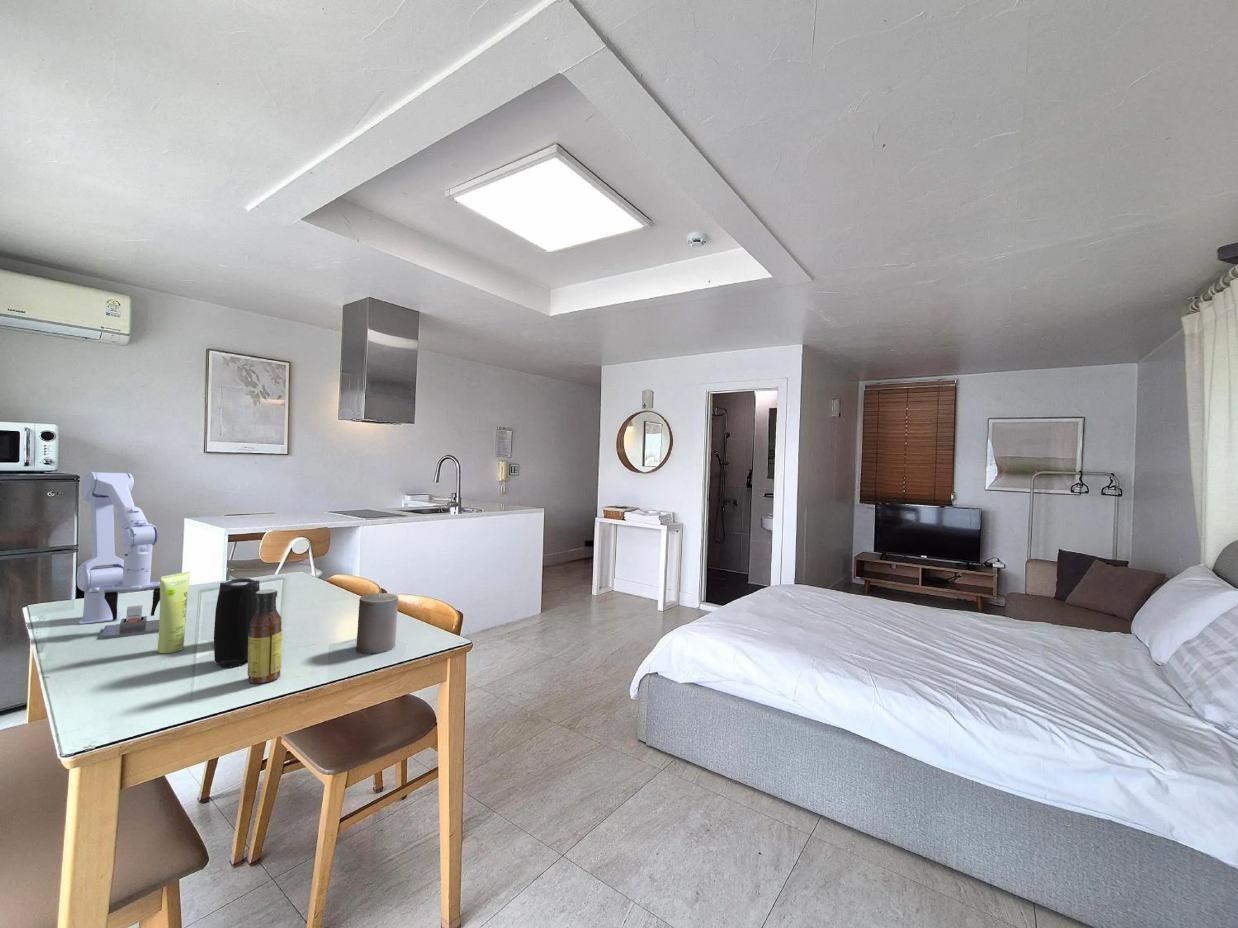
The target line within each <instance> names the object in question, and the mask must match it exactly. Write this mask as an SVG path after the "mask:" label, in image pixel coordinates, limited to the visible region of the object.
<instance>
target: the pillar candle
mask: <svg viewBox="0 0 1238 928" xmlns="http://www.w3.org/2000/svg"><path fill="white" fill-rule="evenodd" d="M358 601H359V603H358V615H357V617H358V619H357V633H356V635H357V636H356V647H355V649H356V652H358V653H360V654H364V653H370V654H371V653H376V654H381V653H380V652H383V653H385V652H384V651H386V652H389V651H388V650H390V651H391V649H392V648H393V649H394V648H395V646H396V639H397V637H396V636H397V627H398V626H397V623H398V611H399V610H398V606H399V605H398V604H399V595H398V594H395V593H386V592H383V593H382V592H379V591H378V593H369V594H365V595H362V596H360V598H359V600H358ZM393 649H392V650H393ZM370 654H369V655H370Z"/></svg>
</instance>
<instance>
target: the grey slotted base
mask: <svg viewBox="0 0 1238 928" xmlns="http://www.w3.org/2000/svg"><path fill="white" fill-rule="evenodd" d="M147 618H148V616H145V615H144V616H143V615H142V617H141V620H140V621H138V619H133V620H129V622H126V617H125V618H121V620H120V622H119V623H118V624H109V625H108V624H107V625H105V626H104V628H103V630H102V632H101V635H100V640H108V639H110V640H111V639H117V638H124V637H125V638H126V637H132V636H134V637H135V636H139V635H140V636H141V635H148V634H157V633H158V634H159V619H153V620H148V619H147Z"/></svg>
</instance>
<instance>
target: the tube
mask: <svg viewBox="0 0 1238 928" xmlns="http://www.w3.org/2000/svg"><path fill="white" fill-rule="evenodd" d="M190 576H191V570H189V571H184V572H179V573H174V574H169V575H163V576H160V578H159V582H160V601H159V617H158V618H159V619H158V620H159V632H158V641H157V652H158V653H159V654H170V653H174V652H179V651H181V650H184V647H185V645H184V644H185V634H186V633H185V632H186V620H187V607H188V598H189V597H188V596H189V588H190V587H189V586H190V578H191V577H190Z"/></svg>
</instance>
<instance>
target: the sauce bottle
mask: <svg viewBox="0 0 1238 928" xmlns="http://www.w3.org/2000/svg"><path fill="white" fill-rule="evenodd" d="M277 597H278V590H277V589H273V588H271V589H266V588H265V589H260V591H257V592H256V593H255V599H256V609H255V614H254V616H253V618H252V619H251V621H250V626H249V634H248V660H247V677H248V682H249V683H251V684H256V685H257V684H266V683H270V682H273V681H275V680H278V679H279V678H280V676H281V669H282V650H283V649H282V647H283V646H282V645H283V642H282V641H283V629H282V615H280V613H279V611H278V610H277Z"/></svg>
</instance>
